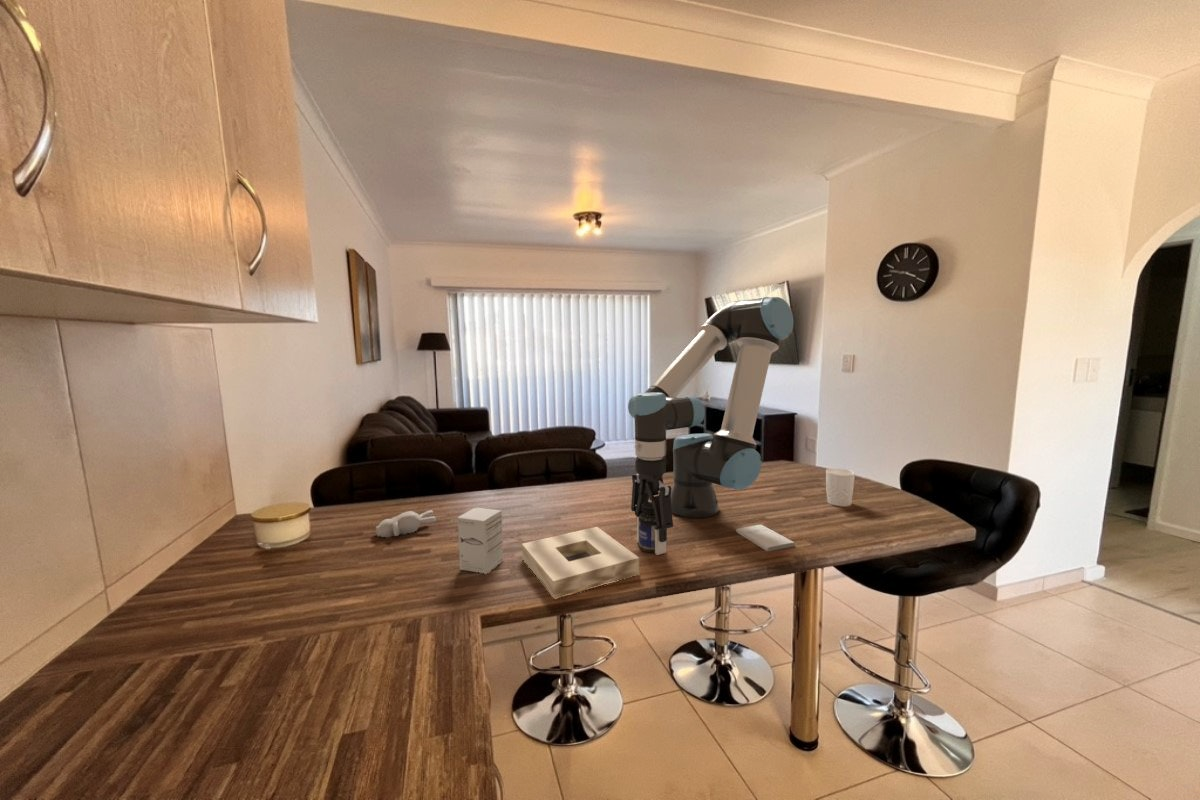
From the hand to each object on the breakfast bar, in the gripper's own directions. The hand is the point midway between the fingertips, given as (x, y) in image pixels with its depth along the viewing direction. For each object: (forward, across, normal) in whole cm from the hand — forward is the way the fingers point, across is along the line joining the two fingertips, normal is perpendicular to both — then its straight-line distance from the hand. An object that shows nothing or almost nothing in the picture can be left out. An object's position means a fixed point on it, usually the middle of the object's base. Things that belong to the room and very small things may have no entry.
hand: (651, 546), depth 112 cm
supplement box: (+1, -12, -39) cm, 41 cm away
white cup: (0, +3, +68) cm, 68 cm away
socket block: (0, 0, -20) cm, 20 cm away
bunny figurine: (+1, -43, -53) cm, 68 cm away
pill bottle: (+1, 0, 0) cm, 1 cm away
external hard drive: (+1, +10, +28) cm, 30 cm away
